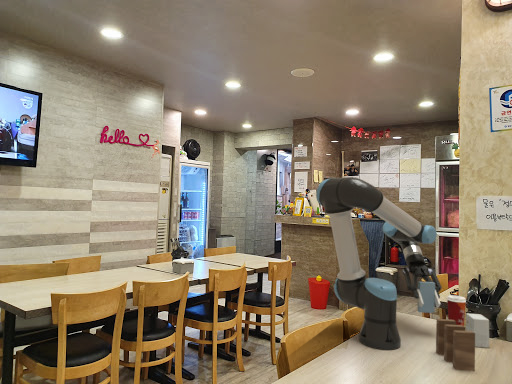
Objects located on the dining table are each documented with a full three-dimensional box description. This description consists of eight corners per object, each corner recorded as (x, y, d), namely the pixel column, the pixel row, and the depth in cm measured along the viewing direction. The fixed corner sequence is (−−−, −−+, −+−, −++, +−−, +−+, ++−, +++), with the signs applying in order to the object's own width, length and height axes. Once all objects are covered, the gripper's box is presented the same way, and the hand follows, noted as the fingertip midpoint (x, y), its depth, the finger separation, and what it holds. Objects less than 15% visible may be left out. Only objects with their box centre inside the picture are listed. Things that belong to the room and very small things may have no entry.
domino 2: (444, 359, 127) (444, 324, 128) (461, 360, 127) (462, 325, 128) (446, 362, 125) (447, 326, 126) (464, 362, 125) (465, 327, 126)
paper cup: (465, 334, 154) (466, 300, 155) (445, 330, 159) (445, 297, 159) (466, 328, 161) (467, 296, 162) (446, 325, 165) (447, 293, 166)
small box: (489, 348, 139) (489, 320, 140) (473, 346, 140) (473, 318, 141) (481, 340, 147) (481, 314, 147) (465, 339, 148) (466, 312, 149)
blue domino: (417, 310, 152) (418, 281, 152) (432, 311, 152) (432, 282, 152) (419, 312, 150) (420, 282, 150) (434, 312, 150) (435, 283, 150)
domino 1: (435, 352, 133) (436, 319, 134) (452, 353, 133) (453, 319, 134) (438, 354, 131) (439, 320, 132) (455, 355, 131) (456, 321, 132)
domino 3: (452, 367, 121) (453, 330, 122) (471, 368, 121) (471, 331, 122) (455, 369, 119) (456, 332, 120) (474, 370, 119) (475, 333, 120)
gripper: (432, 263, 166) (450, 311, 150) (390, 262, 167) (403, 309, 150) (438, 253, 161) (457, 301, 144) (395, 252, 162) (409, 299, 145)
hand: (430, 305), depth 147 cm, fingers closed on blue domino, 6 cm apart
